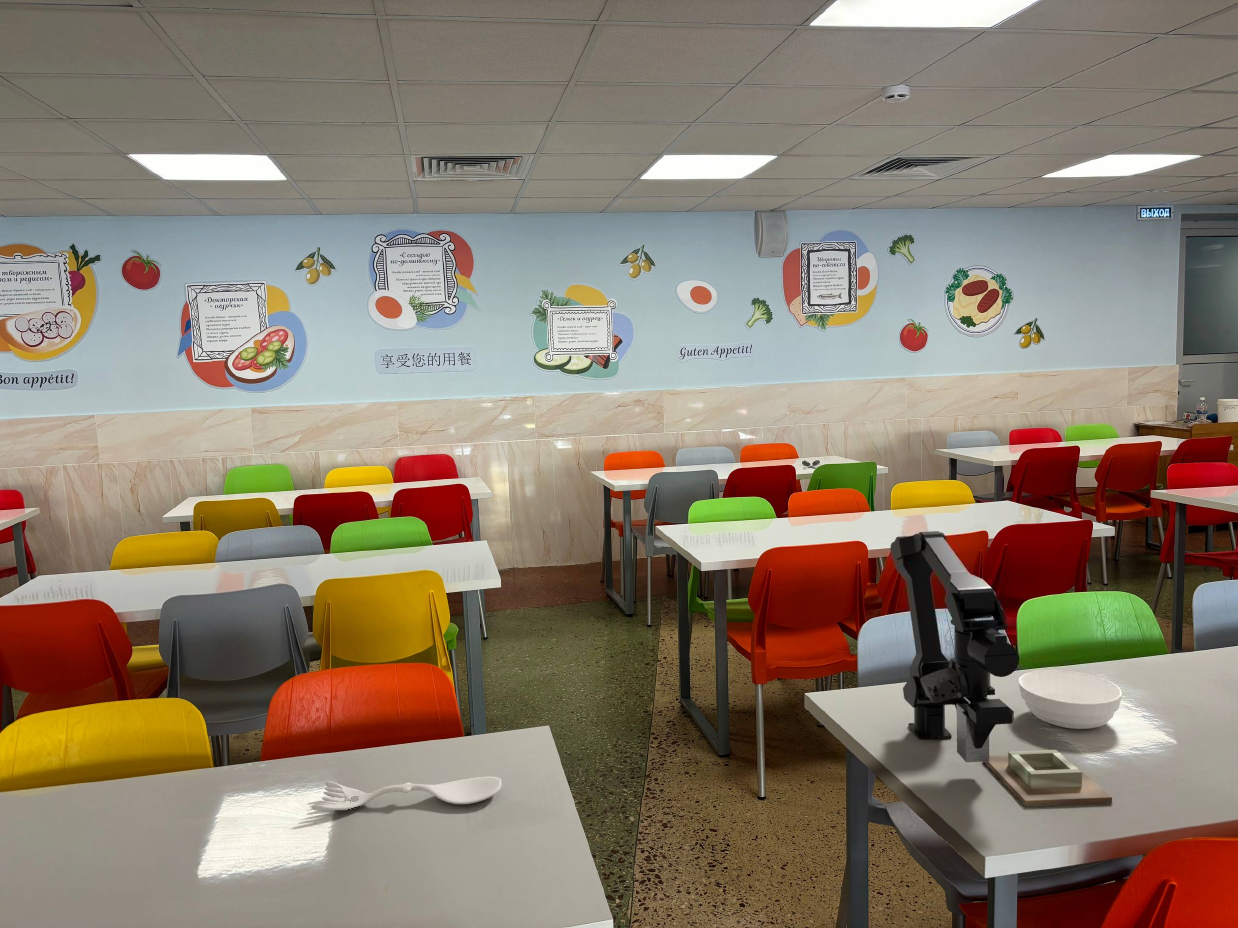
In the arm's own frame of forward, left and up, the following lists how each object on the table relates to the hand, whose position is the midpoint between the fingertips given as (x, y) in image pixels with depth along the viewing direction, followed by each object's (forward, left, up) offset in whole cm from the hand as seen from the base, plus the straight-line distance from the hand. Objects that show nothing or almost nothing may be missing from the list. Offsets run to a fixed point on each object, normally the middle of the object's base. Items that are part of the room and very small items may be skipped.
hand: (972, 742), depth 144 cm
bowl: (-21, +28, -6) cm, 36 cm away
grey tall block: (0, 0, -3) cm, 3 cm away
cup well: (+3, +11, -6) cm, 13 cm away
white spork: (+1, -99, -7) cm, 100 cm away
